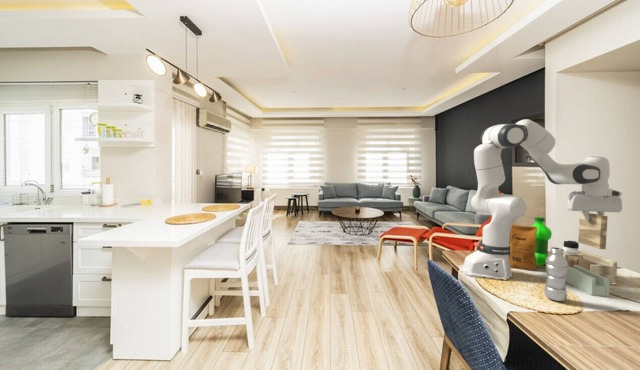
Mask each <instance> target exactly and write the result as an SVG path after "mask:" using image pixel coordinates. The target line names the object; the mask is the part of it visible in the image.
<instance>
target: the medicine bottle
mask: <svg viewBox="0 0 640 370" xmlns="http://www.w3.org/2000/svg"><path fill="white" fill-rule="evenodd" d="M562 242H563V244H562V246H563V247H560V248H561V249H564V253H566V254H580V250H579V249H580V248H579V247H580V245H579V244H580V243H579V242H578V241H575V240H567V239H566V240H564V241H562Z"/></svg>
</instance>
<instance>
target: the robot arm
mask: <svg viewBox="0 0 640 370" xmlns="http://www.w3.org/2000/svg"><path fill="white" fill-rule="evenodd" d="M555 145H556V138H555V137H554V135H553V134H552V133H551V132H550V131H548V130H547V129H546V128H544V127H543V126H542V125H540V124H539V123H537V122H535V121H533V120H531V119H527V118H525V119H521V120H519V121H517V122H515V123H506V124H505V123H502V124H501V123H500V124H496V125H491V126H488V127H486V128H485V129H484V130H483V131H482V132H481V134H480V140H479V145H478V146H476V147H475V148H474V149H473V164H474V168H475V172H476V173H475V174H476V178H477V191H476V192H475V194H474V195H473V196H472V197H471V201H470V205H471V208H472V209H473V210H474V211H476V212H478V213H480V214H483V215H488V216H491V219H490V220H491V221H490V222H489V223H487V224H484V225H483V227H482V237H481V238H482V239H481V243H479V242H474V243H473V245H474V246H475V248H477V250H476V251H474V252H472V253H470V254H469V255H466V257H465V258H464V261H463V264H460V265H458V269H459V271H461V273H463V274H464V275H467V276H469V277H474V278H481V277H486V278H485V279H490V278H497V279H496V280H498V279H505V280H504V281H507V280H508V279H509V278H508V277H511V276H512V275H513V273H512V267H510V260H509V257H510V246H509V244H510V238H511V237H510V235H511V228H512V225H513V224H515V222H516V221H517V220H518V219H520V218H522V217H523V216H524V215H525V214H526V212H527V208H528V207H527V203H526V201H525V200H524V198H522V197H520V196H517V195H512V194H506V193H499V187H500V186H502V184H504V182H505V181H506V174H505V170H504V165H503V161H502V157H501V155H502V150H503V149H511V148H512V149H513V148H515V147H518V146H520V147H522V148H523V149H524V150H525V151H526V152H527V153H528V156H529V157H530V159H531V160H532V161H534V163H535V164H536V165H537V166H538V167H539V168H540V170H542V171H543V172H544V174H545V176H546V177H547V179H548V181H549V182H550V183H552V184H553V185H581V191H576V190H575V191H574V190H573V191H572V192H569V194H568V198H567V199H568V200H567V204H566V208H567V210H568V211H571V212H582V213H583V215H584V216H585V221H591V219H592V218H591V217H589V215H588V214H589V213H590V212H591V213H593V212H596V214H598V215H604V216H605V213H621V211H622V210H623V199H622V195H623V193H622V191H620V190H616V189H612V188H610V185H609V179H610V174H611V172H610V170H611V167H610V161H609V160H608V158H606V157H601V156H588V157H587V156H586V157H585V158H584V160H582V161H579V162H577V163H569V164H563V163H559V162H556V161H555V160H554V159H553V158H552V157H551V155H550V154H549V153H551V152H552V150H553V149H554V148H555ZM512 277H513V276H512ZM512 277H511V278H512ZM507 278H508V279H507ZM506 279H507V280H506Z"/></svg>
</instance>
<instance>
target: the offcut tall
mask: <svg viewBox="0 0 640 370" xmlns="http://www.w3.org/2000/svg"><path fill="white" fill-rule="evenodd" d="M590 264H593V265H597V264H596V263H594V262H591V261H589V260H585V259H579V260H578V266H580V267H582V268H584V269H587V270H589V271H590Z"/></svg>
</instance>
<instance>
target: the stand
mask: <svg viewBox="0 0 640 370" xmlns="http://www.w3.org/2000/svg"><path fill="white" fill-rule="evenodd" d="M565 282H566V283H568V284H570V285H572V286H573V287H576V288H577V289H579V290H581V291H583V292H585V293H586V294H588V295H590V296H599V297H610V285H611V284H610V279H607V278H605V277H603V276H600V275H598V274H596V273H593V272H591V271H589V270H587V269H584V268H582V267H580V266H577V265H573V268H571V267H569V266H568V268H567V272H566V280H565Z"/></svg>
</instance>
